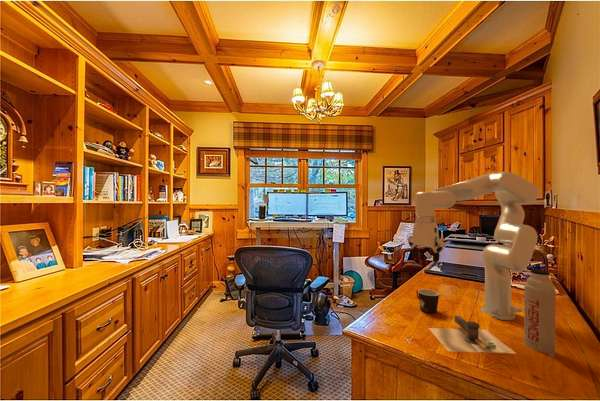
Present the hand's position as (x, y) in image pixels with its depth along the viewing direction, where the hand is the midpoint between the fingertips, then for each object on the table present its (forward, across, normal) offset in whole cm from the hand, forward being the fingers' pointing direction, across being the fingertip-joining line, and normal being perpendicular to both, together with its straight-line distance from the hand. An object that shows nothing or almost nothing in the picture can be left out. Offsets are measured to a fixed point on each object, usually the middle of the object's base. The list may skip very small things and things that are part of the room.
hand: (425, 259), depth 115 cm
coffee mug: (+27, +4, -8) cm, 28 cm away
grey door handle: (+24, -19, +3) cm, 31 cm away
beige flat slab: (+26, -20, +4) cm, 33 cm away
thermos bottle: (+27, -35, -12) cm, 46 cm away
